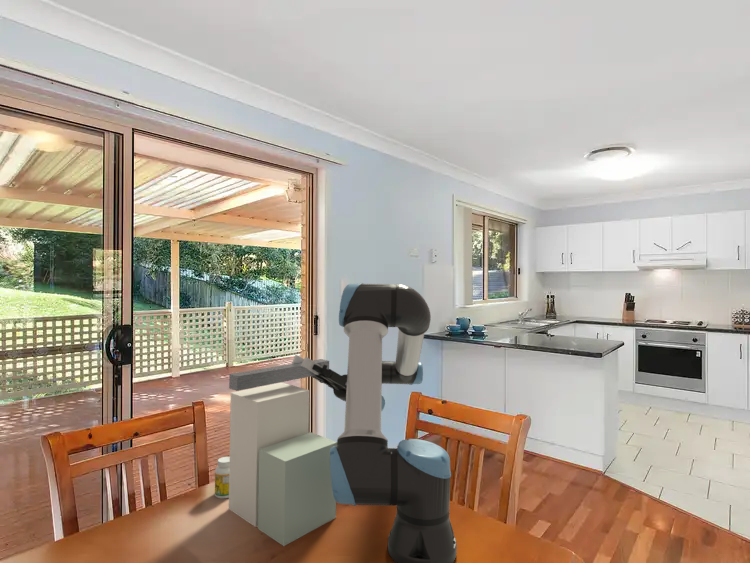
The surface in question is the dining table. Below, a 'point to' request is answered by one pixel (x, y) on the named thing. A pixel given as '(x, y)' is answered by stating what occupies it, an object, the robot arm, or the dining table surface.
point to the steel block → (271, 375)
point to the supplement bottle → (222, 478)
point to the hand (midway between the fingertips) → (299, 360)
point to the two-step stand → (278, 463)
